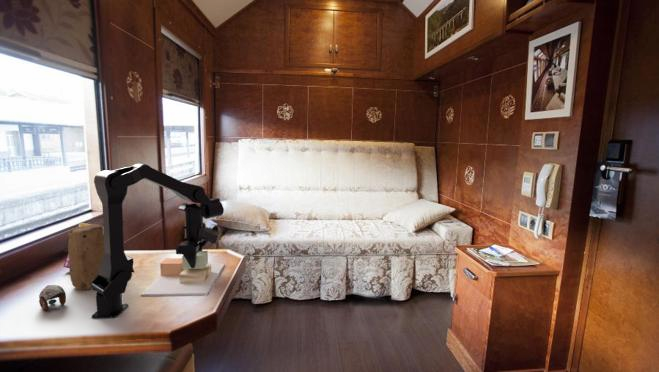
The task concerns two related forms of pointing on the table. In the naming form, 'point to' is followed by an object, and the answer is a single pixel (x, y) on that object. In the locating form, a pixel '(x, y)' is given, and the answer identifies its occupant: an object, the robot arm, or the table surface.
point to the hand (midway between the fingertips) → (195, 264)
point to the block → (85, 254)
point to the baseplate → (182, 285)
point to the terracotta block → (171, 267)
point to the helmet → (51, 296)
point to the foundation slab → (195, 275)
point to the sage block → (197, 261)
